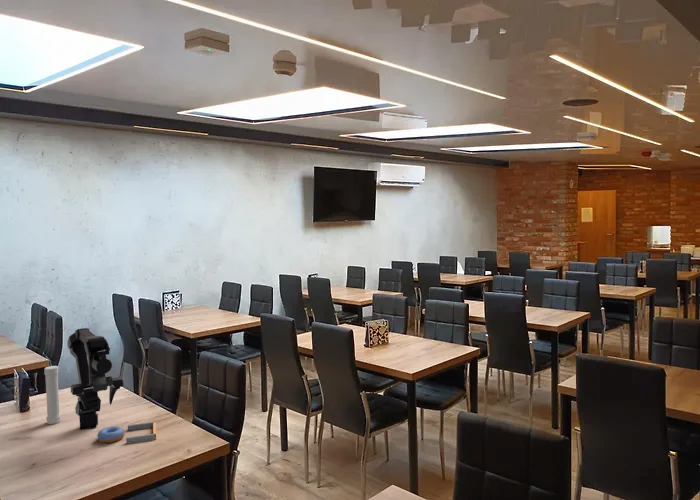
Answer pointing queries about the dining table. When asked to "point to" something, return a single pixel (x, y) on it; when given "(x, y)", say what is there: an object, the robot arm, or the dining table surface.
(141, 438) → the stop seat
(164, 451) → the dining table surface
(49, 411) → the pipe
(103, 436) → the doughnut
